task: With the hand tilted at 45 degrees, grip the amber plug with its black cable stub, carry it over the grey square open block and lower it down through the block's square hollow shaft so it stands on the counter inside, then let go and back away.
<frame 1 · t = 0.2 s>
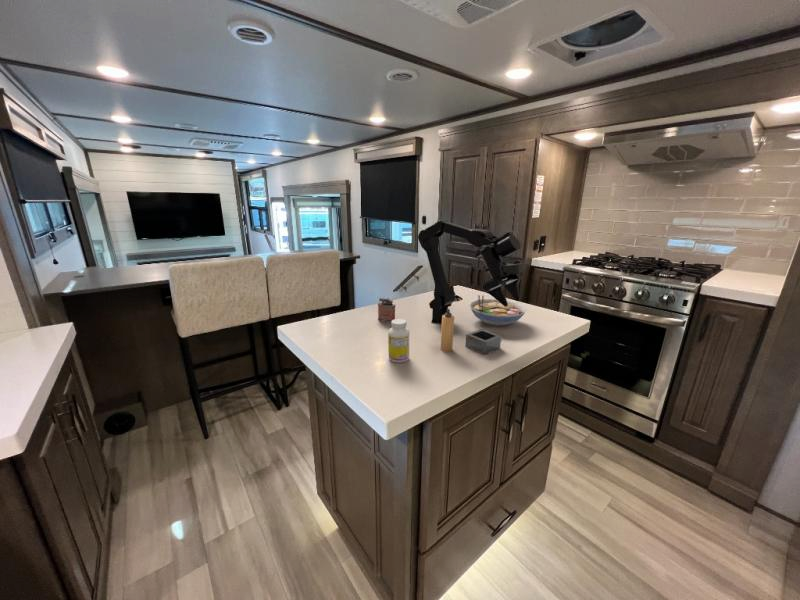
hand: (512, 303, 109), 15 cm above the countertop, tool tilted 35°, fingers open, 9 cm apart
ramen bowl: (495, 323, 132), on the countertop
plug: (446, 349, 108), on the countertop
supplement bottle: (398, 359, 101), on the countertop
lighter: (386, 321, 134), on the countertop
grey square open block: (482, 347, 109), on the countertop
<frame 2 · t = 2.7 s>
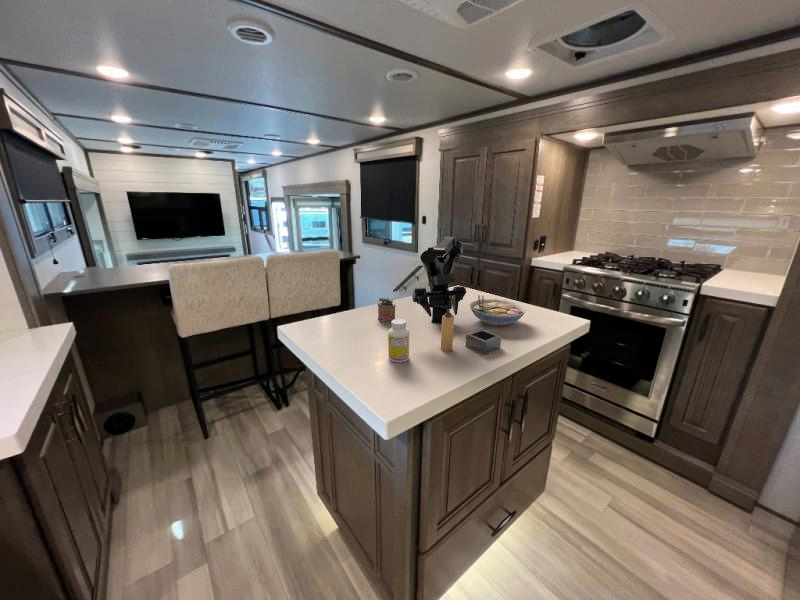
hand: (443, 315, 108), 11 cm above the countertop, tool tilted 45°, fingers open, 9 cm apart
nothing on the countertop moved.
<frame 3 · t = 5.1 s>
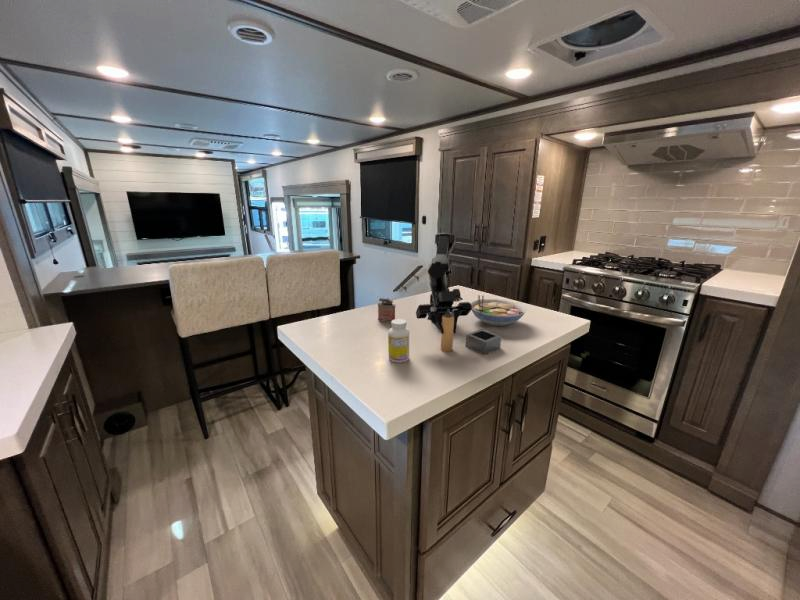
hand: (448, 333, 104), 7 cm above the countertop, tool tilted 45°, fingers closed on plug, 4 cm apart
plug: (446, 349, 108), on the countertop, touching gripper
everything else where it was.
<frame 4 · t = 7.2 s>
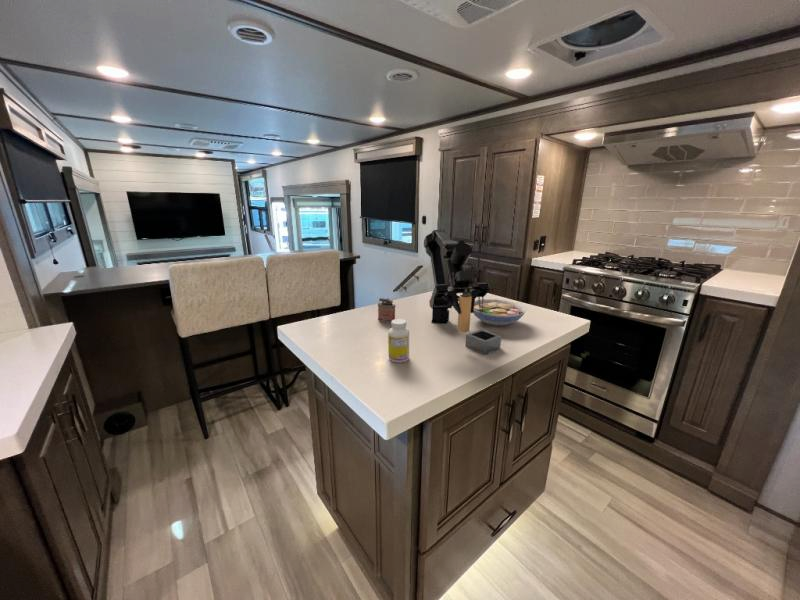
hand: (466, 313, 103), 13 cm above the countertop, tool tilted 45°, fingers closed on plug, 4 cm apart
plug: (463, 330, 106), point 7 cm above the countertop, touching gripper
everything else where it was.
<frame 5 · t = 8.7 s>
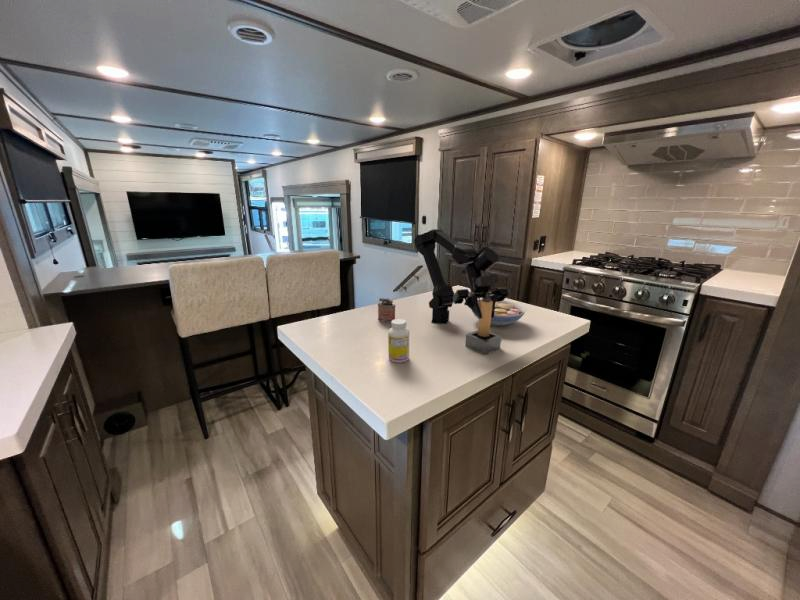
hand: (486, 317, 105), 11 cm above the countertop, tool tilted 45°, fingers closed on plug, 4 cm apart
plug: (483, 334, 108), point 5 cm above the countertop, touching gripper
everything else where it was.
when the fingers open (8 cm above the countertop, at t = 9.6 s): plug drops 2 cm, resting in grey square open block.
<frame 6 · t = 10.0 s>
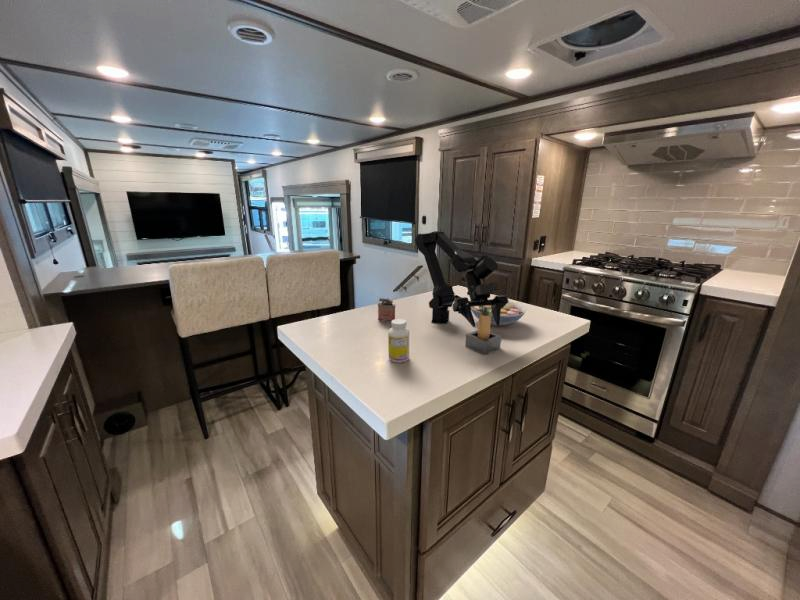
hand: (486, 325, 106), 9 cm above the countertop, tool tilted 45°, fingers open, 8 cm apart
plug: (482, 347, 109), resting in grey square open block
everything else where it was.
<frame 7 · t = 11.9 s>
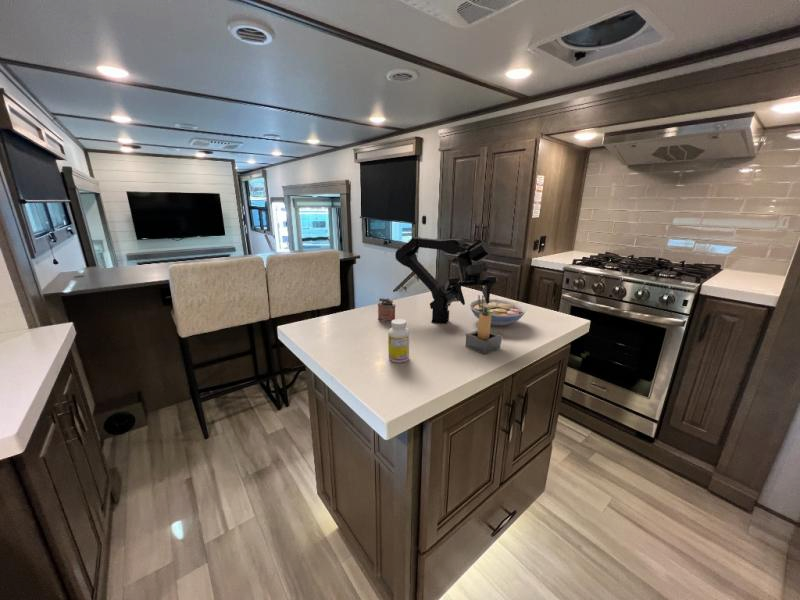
hand: (476, 303, 112), 14 cm above the countertop, tool tilted 45°, fingers open, 9 cm apart
nothing on the countertop moved.
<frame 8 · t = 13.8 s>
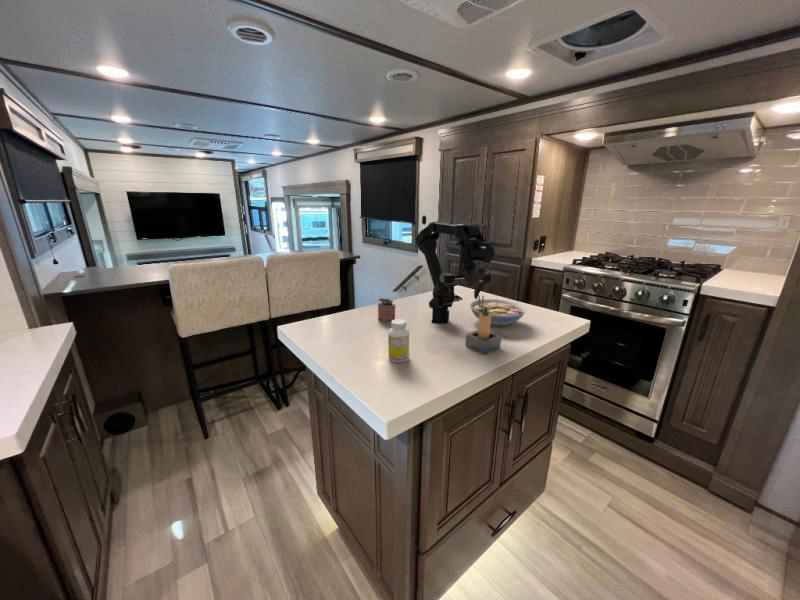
hand: (464, 299, 120), 13 cm above the countertop, tool pointing down, fingers open, 9 cm apart
nothing on the countertop moved.
at the end: plug 0.1 cm off-centre on the grey square open block, point 0.0 cm above the grey square open block's base; plug tilted 0°; the gripper is holding nothing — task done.
